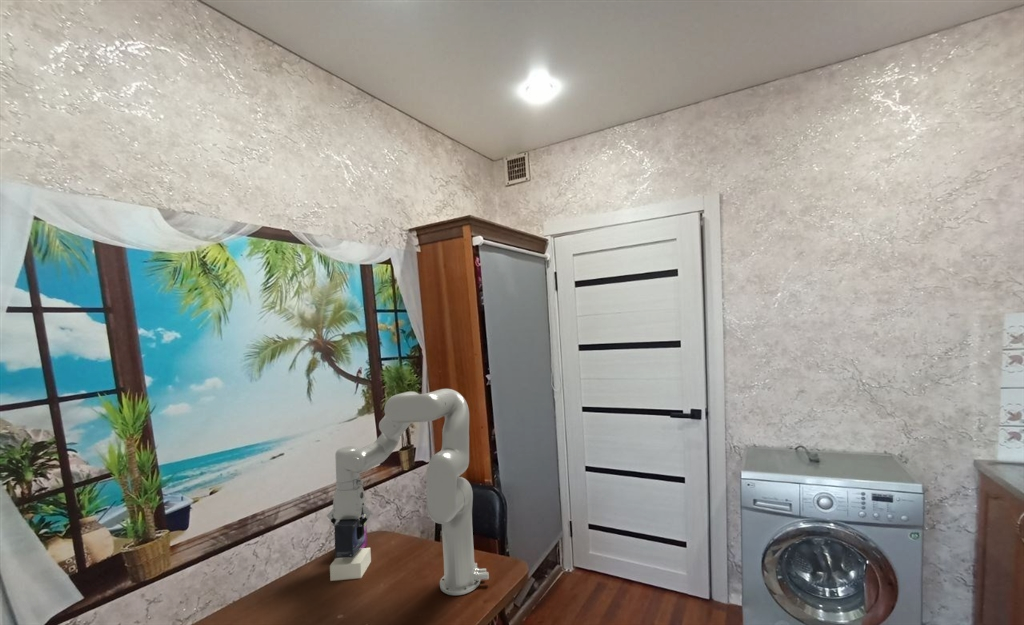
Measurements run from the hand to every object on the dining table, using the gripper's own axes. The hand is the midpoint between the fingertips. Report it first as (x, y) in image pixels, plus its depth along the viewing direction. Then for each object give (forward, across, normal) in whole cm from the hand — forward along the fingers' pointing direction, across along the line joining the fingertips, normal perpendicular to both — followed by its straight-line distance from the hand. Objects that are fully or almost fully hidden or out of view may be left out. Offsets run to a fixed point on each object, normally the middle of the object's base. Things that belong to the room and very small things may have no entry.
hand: (350, 537), depth 136 cm
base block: (+11, 0, 0) cm, 11 cm away
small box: (+4, 0, 0) cm, 4 cm away
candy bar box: (+11, +5, -12) cm, 17 cm away
